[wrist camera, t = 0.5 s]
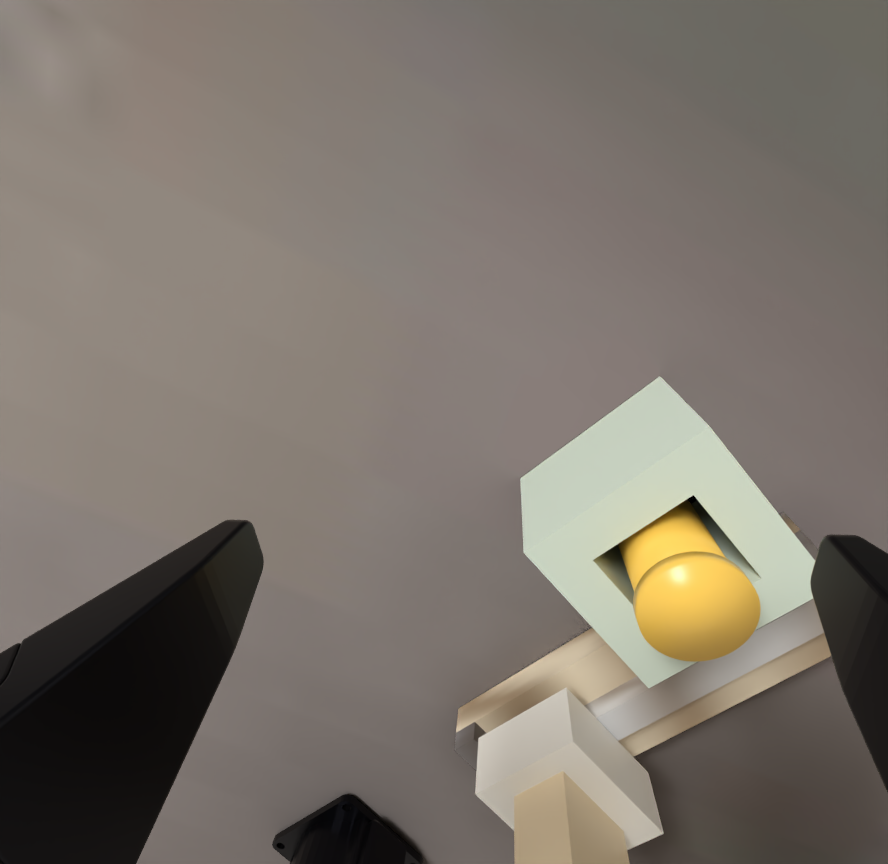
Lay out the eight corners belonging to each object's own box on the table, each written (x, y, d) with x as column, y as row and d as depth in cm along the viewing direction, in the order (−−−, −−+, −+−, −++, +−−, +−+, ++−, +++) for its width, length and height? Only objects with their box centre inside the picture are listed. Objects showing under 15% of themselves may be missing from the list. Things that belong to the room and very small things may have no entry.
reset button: (643, 579, 22) (680, 679, 18) (589, 517, 22) (613, 604, 17) (720, 531, 21) (784, 623, 16) (666, 465, 21) (716, 541, 16)
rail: (532, 780, 31) (534, 827, 28) (458, 708, 29) (454, 750, 27) (858, 608, 25) (894, 647, 23) (783, 512, 24) (812, 542, 22)
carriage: (559, 816, 28) (577, 1028, 20) (478, 738, 27) (466, 932, 19) (648, 772, 26) (701, 984, 19) (566, 687, 25) (589, 877, 18)
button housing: (624, 595, 26) (655, 695, 21) (520, 478, 25) (523, 553, 19) (764, 509, 24) (842, 595, 19) (659, 376, 23) (709, 426, 17)
